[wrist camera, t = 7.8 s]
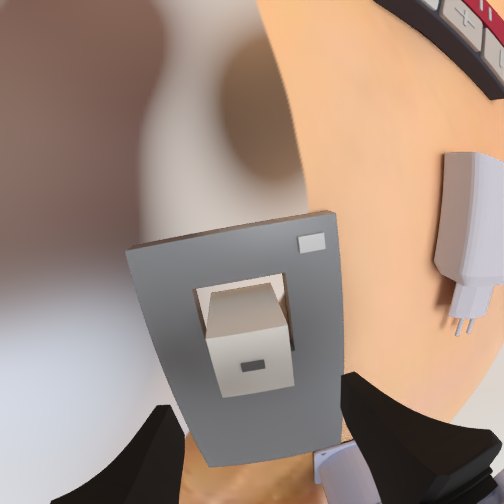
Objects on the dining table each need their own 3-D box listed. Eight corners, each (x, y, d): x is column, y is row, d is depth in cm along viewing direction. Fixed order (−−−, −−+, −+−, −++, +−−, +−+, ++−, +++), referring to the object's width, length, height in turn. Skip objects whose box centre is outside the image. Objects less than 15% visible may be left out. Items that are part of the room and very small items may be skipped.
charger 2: (412, 328, 22) (439, 152, 18) (474, 318, 23) (499, 173, 19) (442, 355, 17) (480, 150, 14) (503, 338, 18) (534, 176, 15)
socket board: (327, 210, 18) (337, 213, 17) (336, 433, 24) (341, 446, 22) (132, 245, 18) (123, 252, 16) (209, 456, 23) (209, 469, 22)
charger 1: (270, 282, 19) (288, 326, 13) (277, 333, 20) (295, 387, 14) (211, 292, 19) (205, 340, 13) (222, 342, 20) (222, 399, 14)
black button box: (515, 99, 14) (395, -23, 11) (485, 103, 18) (369, 0, 15) (516, 32, 12) (412, -67, 9) (491, 39, 16) (392, -49, 13)
